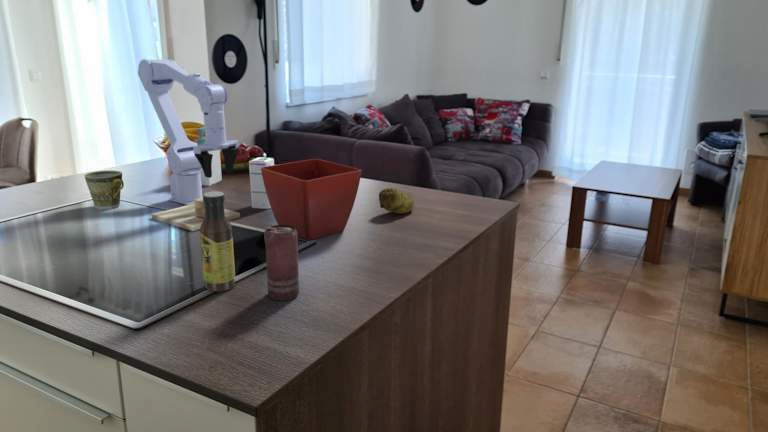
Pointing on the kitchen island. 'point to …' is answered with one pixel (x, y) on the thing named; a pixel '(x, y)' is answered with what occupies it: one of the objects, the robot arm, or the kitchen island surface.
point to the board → (187, 217)
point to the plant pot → (311, 195)
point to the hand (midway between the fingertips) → (219, 174)
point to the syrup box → (259, 182)
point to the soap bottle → (215, 164)
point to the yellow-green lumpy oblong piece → (395, 201)
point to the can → (282, 262)
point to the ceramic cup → (105, 188)
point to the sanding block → (199, 208)
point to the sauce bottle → (216, 245)
